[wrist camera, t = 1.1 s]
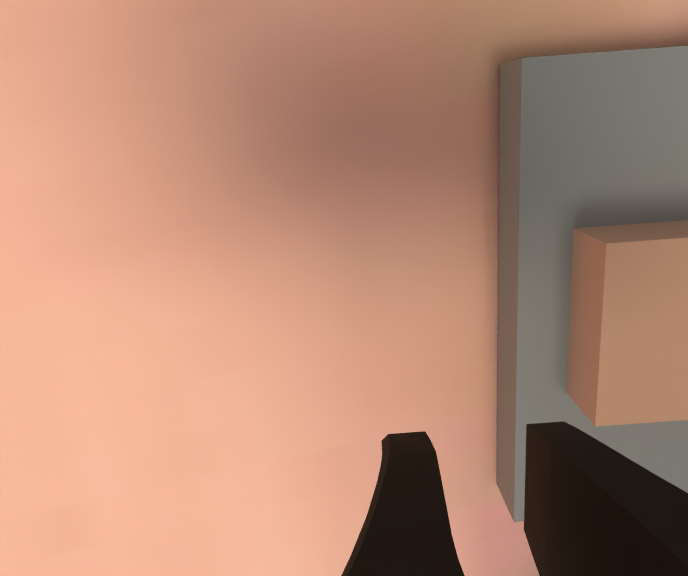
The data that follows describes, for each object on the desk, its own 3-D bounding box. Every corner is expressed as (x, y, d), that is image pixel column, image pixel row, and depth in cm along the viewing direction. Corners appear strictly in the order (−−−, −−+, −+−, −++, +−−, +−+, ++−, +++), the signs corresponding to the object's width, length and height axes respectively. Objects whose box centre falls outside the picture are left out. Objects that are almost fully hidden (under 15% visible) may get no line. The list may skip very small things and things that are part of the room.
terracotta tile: (731, 380, 17) (782, 413, 15) (565, 392, 17) (595, 426, 15) (754, 214, 16) (812, 228, 14) (573, 228, 16) (606, 243, 14)
